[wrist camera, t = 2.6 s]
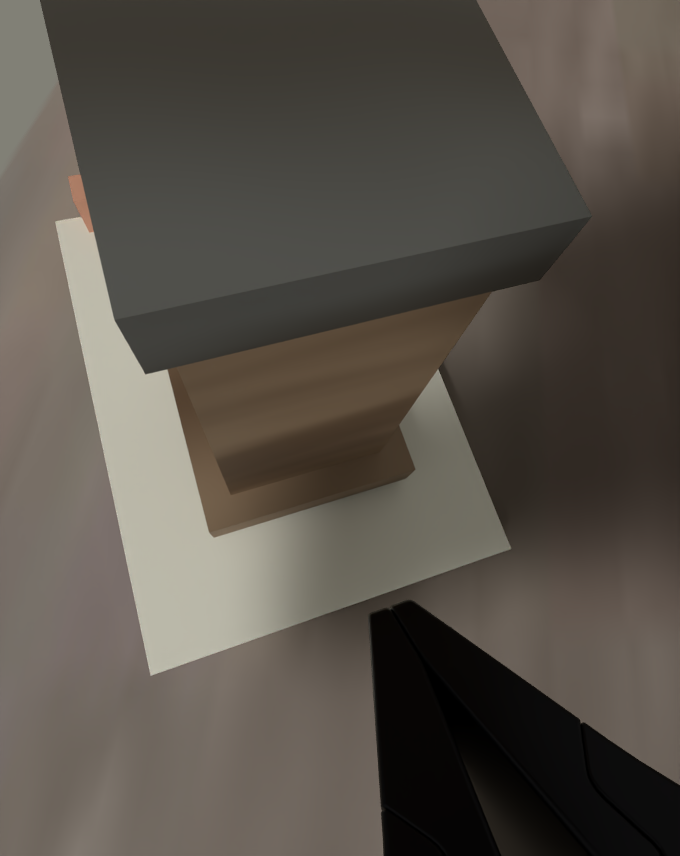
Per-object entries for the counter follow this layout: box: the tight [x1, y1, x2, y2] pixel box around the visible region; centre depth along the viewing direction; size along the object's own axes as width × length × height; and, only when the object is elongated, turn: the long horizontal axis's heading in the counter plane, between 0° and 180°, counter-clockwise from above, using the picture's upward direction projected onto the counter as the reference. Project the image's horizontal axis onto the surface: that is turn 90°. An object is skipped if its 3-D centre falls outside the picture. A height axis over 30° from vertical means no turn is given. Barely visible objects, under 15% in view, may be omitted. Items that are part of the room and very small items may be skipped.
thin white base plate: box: [55, 175, 511, 675], centre depth 17 cm, size 15×11×2 cm
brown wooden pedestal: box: [40, 0, 592, 538], centre depth 11 cm, size 6×6×11 cm
